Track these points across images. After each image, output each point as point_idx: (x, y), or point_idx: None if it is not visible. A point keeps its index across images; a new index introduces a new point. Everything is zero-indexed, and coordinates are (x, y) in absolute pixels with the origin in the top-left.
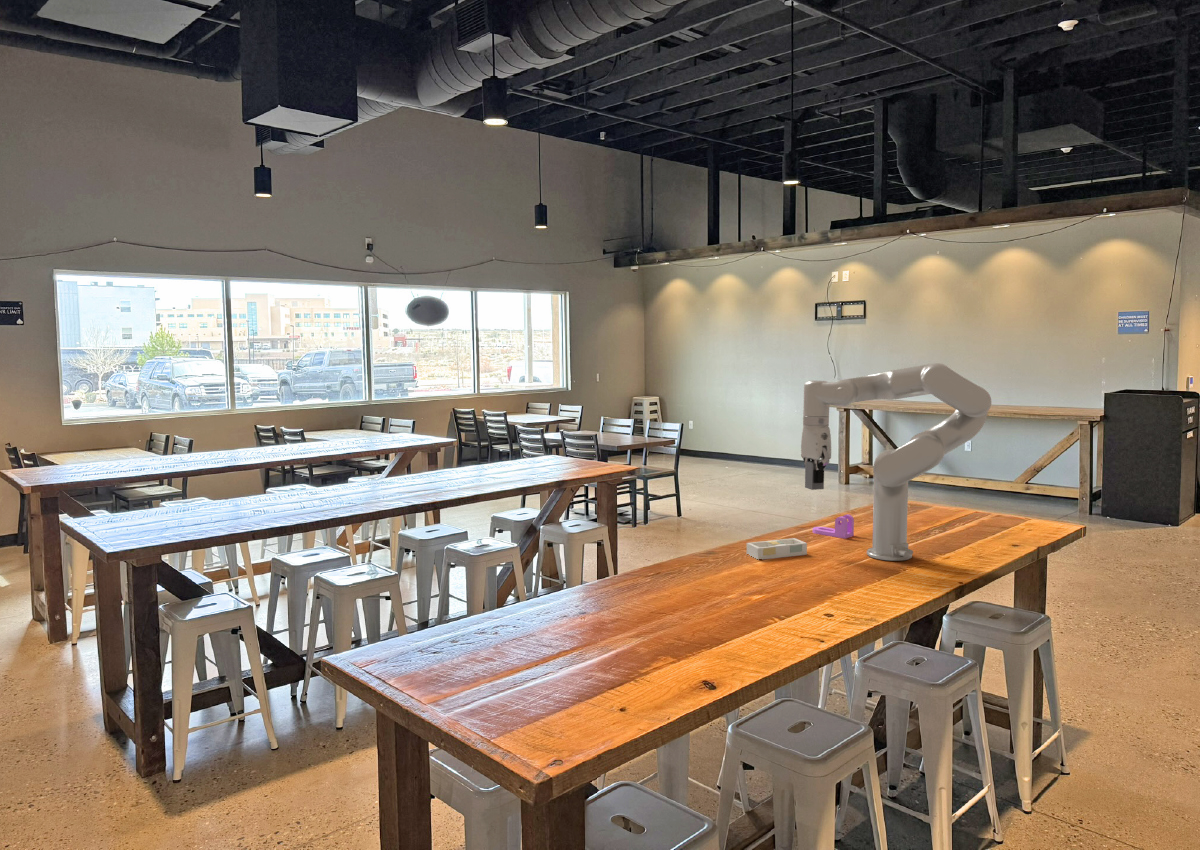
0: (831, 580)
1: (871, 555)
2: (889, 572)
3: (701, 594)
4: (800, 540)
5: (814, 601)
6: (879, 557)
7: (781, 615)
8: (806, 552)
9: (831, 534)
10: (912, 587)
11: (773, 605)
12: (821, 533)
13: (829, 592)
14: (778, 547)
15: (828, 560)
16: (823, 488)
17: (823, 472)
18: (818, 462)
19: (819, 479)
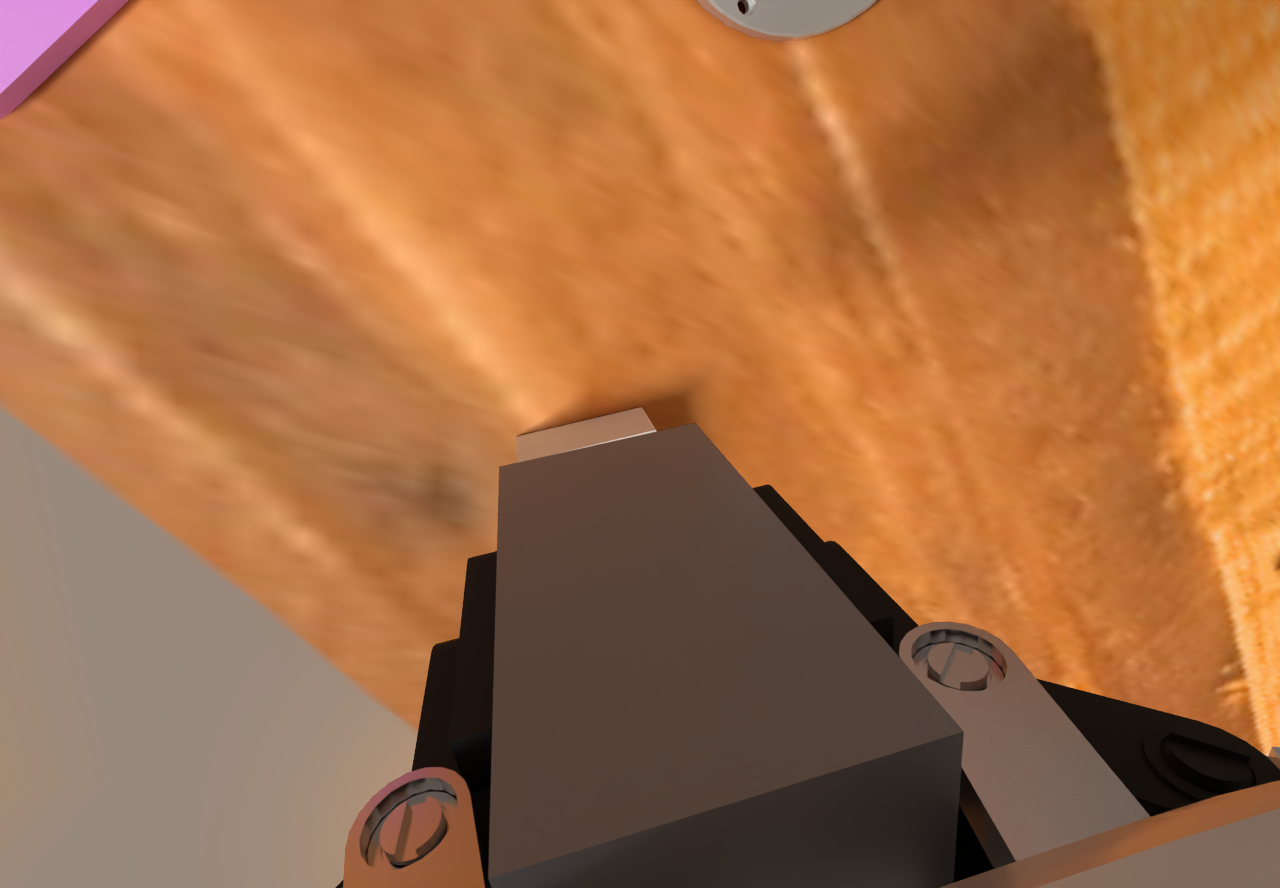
0: (1044, 438)
1: (808, 37)
2: (1067, 103)
3: None
4: (584, 447)
5: (1187, 564)
6: (866, 8)
7: (1221, 670)
8: (644, 413)
9: (104, 10)
10: (1276, 128)
11: (1152, 675)
12: (38, 78)
13: (1147, 493)
14: None
15: (775, 333)
16: (697, 428)
17: (858, 586)
18: (819, 873)
19: None
